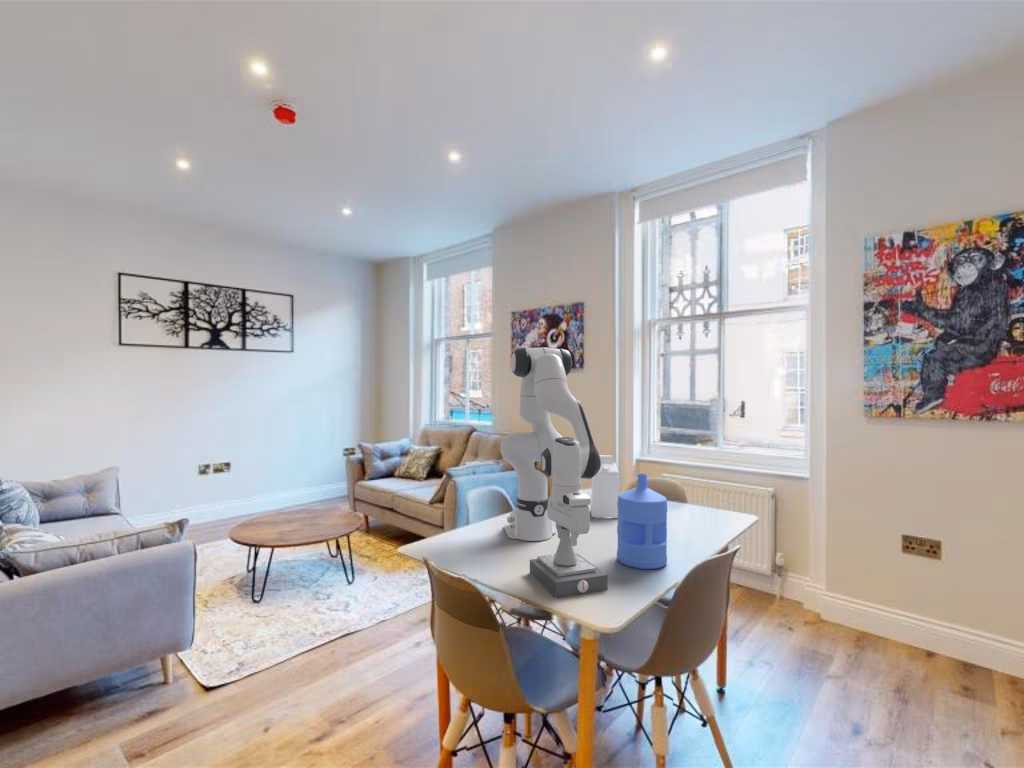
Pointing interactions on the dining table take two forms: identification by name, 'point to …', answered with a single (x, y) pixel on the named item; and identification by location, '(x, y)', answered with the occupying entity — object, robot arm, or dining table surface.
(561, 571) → the pan
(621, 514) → the water jug
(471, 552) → the dining table surface
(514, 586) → the dining table surface
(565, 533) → the flask
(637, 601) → the dining table surface
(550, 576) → the base
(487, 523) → the dining table surface
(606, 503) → the milk
